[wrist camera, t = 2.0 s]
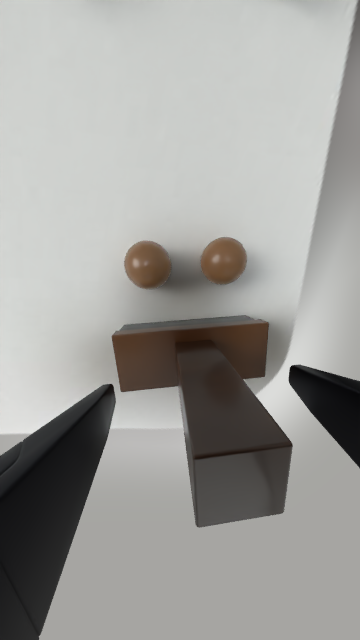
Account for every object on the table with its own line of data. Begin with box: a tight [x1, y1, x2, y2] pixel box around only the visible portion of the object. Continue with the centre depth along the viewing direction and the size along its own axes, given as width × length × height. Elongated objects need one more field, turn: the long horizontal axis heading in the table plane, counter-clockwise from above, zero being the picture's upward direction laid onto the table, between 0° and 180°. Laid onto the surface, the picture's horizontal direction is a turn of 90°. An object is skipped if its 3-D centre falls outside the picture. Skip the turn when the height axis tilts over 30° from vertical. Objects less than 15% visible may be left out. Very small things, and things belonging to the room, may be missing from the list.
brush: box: [112, 315, 293, 527], centre depth 9 cm, size 10×4×10 cm, turn 93°
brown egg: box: [124, 241, 171, 289], centre depth 11 cm, size 3×3×3 cm
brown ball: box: [201, 237, 247, 285], centre depth 11 cm, size 3×3×3 cm
